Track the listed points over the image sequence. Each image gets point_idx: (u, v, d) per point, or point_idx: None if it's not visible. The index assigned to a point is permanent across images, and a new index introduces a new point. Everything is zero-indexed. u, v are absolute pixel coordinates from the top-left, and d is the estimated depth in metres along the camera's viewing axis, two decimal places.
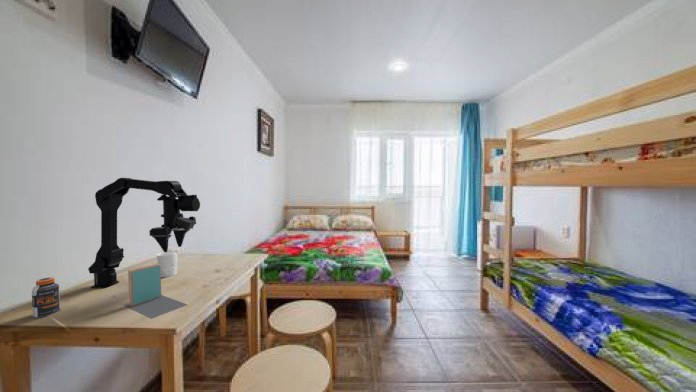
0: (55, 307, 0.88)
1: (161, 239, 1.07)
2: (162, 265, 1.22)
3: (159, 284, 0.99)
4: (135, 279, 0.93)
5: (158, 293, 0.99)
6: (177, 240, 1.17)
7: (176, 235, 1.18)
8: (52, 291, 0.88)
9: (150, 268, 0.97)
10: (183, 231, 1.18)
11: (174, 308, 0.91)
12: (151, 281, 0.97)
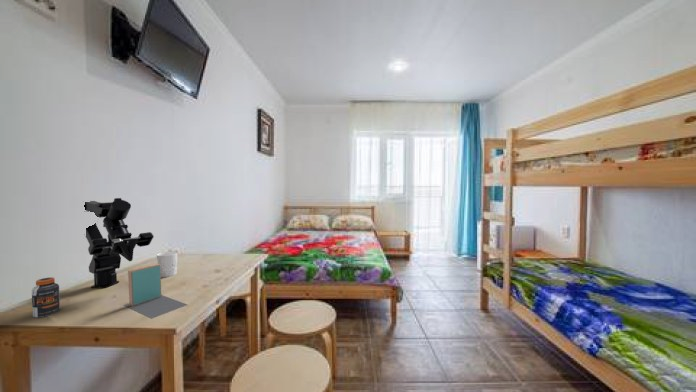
0: (55, 307, 0.88)
1: None
2: (162, 265, 1.22)
3: (159, 284, 0.99)
4: (135, 279, 0.93)
5: (158, 293, 0.99)
6: None
7: None
8: (52, 291, 0.88)
9: (150, 268, 0.97)
10: None
11: (174, 308, 0.91)
12: (151, 281, 0.97)
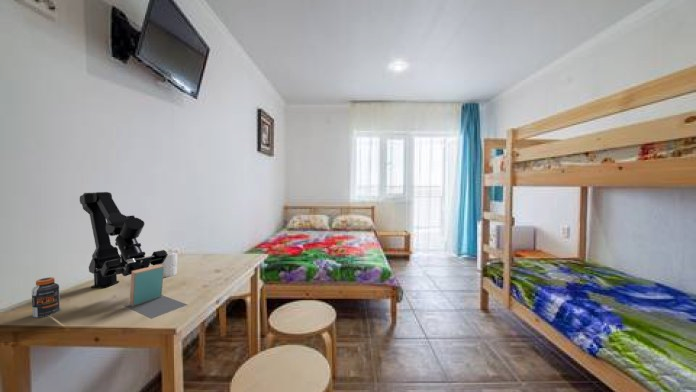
0: (55, 307, 0.88)
1: None
2: None
3: (161, 285, 0.99)
4: (138, 281, 0.92)
5: (159, 293, 0.99)
6: None
7: None
8: (52, 291, 0.88)
9: (154, 270, 0.95)
10: None
11: (174, 308, 0.91)
12: (153, 282, 0.96)
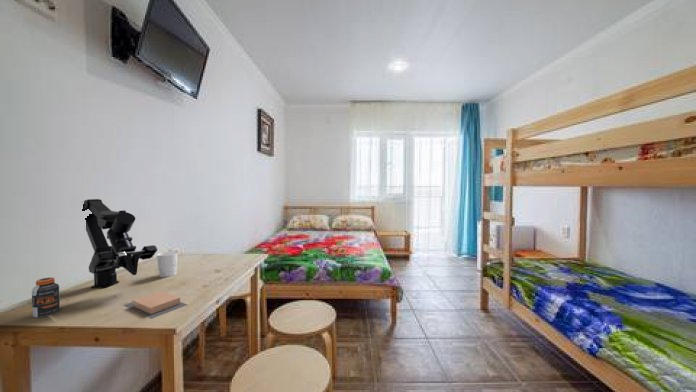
0: (55, 307, 0.88)
1: None
2: (162, 265, 1.22)
3: None
4: None
5: None
6: None
7: None
8: (52, 291, 0.88)
9: (169, 307, 0.91)
10: None
11: (174, 308, 0.91)
12: None
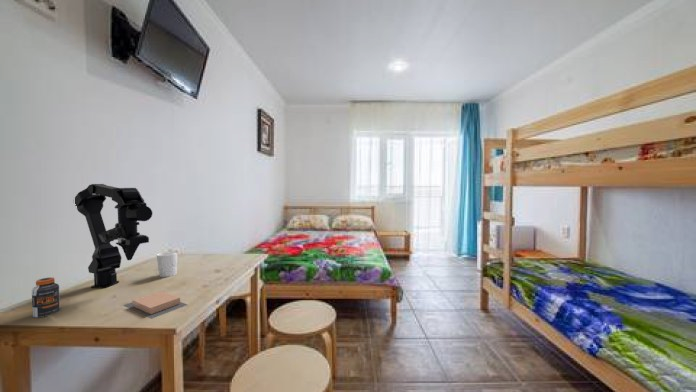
0: (55, 307, 0.88)
1: None
2: (162, 265, 1.22)
3: None
4: None
5: None
6: None
7: None
8: (52, 291, 0.88)
9: (169, 307, 0.91)
10: None
11: (174, 308, 0.91)
12: None
